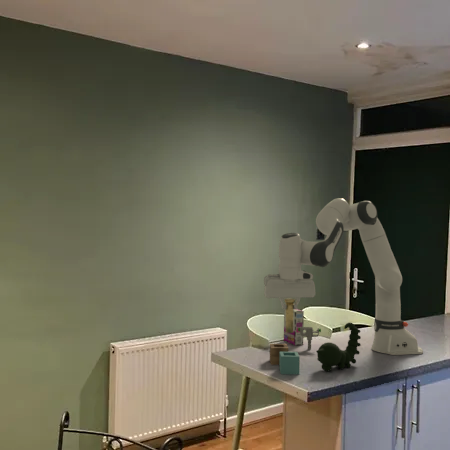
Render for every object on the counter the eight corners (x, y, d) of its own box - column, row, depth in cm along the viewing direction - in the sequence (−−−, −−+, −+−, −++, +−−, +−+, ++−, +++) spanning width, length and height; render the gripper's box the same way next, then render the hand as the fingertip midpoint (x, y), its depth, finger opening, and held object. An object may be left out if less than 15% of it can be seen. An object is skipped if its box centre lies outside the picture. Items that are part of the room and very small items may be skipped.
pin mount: (286, 360, 230) (286, 343, 229) (288, 364, 222) (288, 348, 222) (269, 359, 230) (269, 343, 229) (270, 364, 222) (271, 347, 222)
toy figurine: (346, 364, 229) (306, 369, 213) (349, 320, 230) (309, 322, 214) (364, 369, 222) (324, 375, 206) (367, 323, 222) (327, 326, 207)
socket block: (297, 368, 216) (297, 351, 216) (299, 374, 209) (299, 356, 209) (279, 368, 217) (279, 351, 216) (280, 374, 209) (281, 356, 209)
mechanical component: (320, 350, 245) (320, 328, 245) (298, 349, 247) (298, 327, 247) (320, 349, 248) (320, 327, 248) (298, 347, 250) (298, 326, 250)
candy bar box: (303, 345, 256) (304, 310, 255) (294, 346, 254) (295, 311, 253) (292, 339, 266) (292, 306, 266) (283, 340, 264) (283, 307, 264)
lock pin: (293, 330, 215) (293, 298, 214) (295, 333, 211) (295, 300, 210) (283, 330, 215) (283, 298, 214) (285, 333, 211) (285, 300, 210)
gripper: (265, 275, 208) (265, 310, 208) (316, 274, 210) (316, 309, 211) (262, 273, 214) (262, 307, 214) (312, 272, 216) (311, 307, 217)
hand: (289, 308), depth 212 cm, fingers closed on lock pin, 3 cm apart
